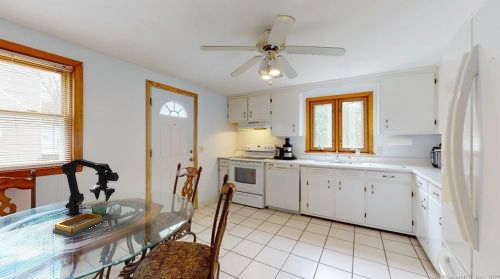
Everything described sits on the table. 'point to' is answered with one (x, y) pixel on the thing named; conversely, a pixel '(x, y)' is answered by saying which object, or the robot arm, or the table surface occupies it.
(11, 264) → the table surface
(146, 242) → the table surface
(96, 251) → the table surface
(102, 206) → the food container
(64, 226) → the wooden tray
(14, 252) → the table surface
